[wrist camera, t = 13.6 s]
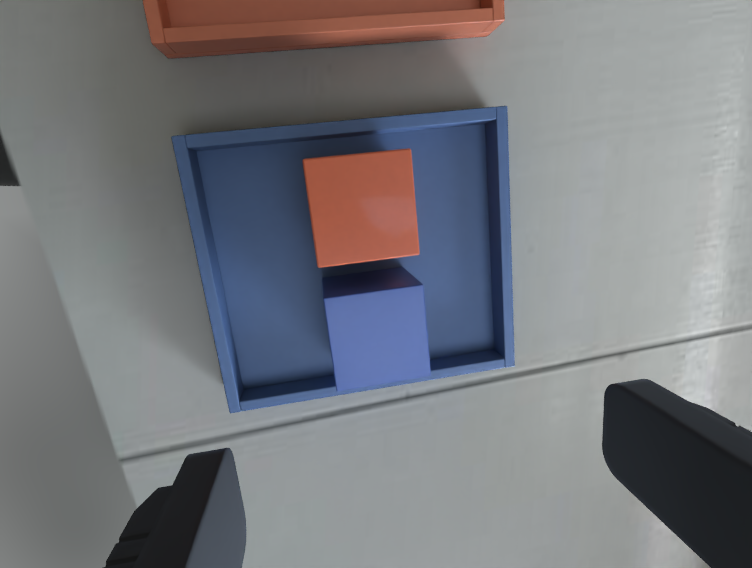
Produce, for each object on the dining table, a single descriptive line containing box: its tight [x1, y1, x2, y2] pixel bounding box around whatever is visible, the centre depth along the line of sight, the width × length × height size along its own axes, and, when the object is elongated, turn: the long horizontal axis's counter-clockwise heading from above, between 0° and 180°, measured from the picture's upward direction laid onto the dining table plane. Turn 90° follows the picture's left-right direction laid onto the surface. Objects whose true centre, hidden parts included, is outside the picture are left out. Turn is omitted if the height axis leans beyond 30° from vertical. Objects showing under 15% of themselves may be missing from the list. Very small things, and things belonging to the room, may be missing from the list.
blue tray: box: [171, 106, 515, 413], centre depth 22 cm, size 16×14×2 cm
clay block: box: [302, 148, 420, 268], centre depth 20 cm, size 5×5×5 cm
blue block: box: [322, 267, 431, 391], centre depth 21 cm, size 5×5×5 cm
